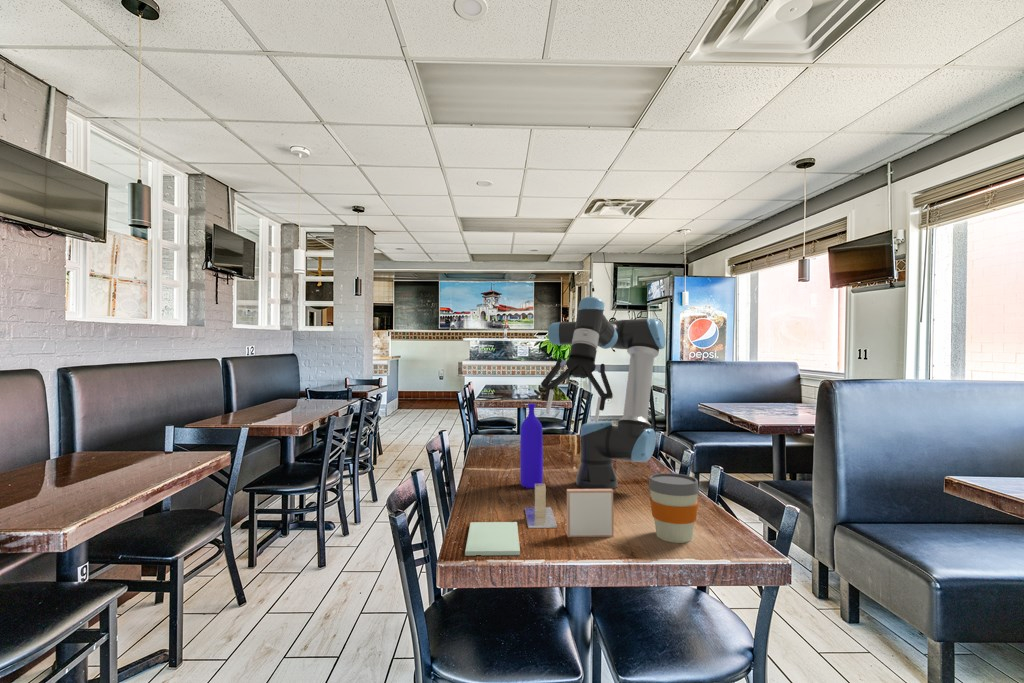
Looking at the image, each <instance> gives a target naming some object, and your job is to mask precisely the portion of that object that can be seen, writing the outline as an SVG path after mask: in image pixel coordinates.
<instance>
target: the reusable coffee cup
mask: <svg viewBox="0 0 1024 683" xmlns="http://www.w3.org/2000/svg"><path fill="white" fill-rule="evenodd" d="M648 489H649V490H650V498H649V503H650V508H651V509H650V510H651V516H652V518H653V519H654V520H653V521H654V527H655V535H656V537H657V538H658V539H661V540H662V541H665V542H667V543H668V542H669V543H676V544H677V543H678V544H683V543H684V544H685V543H689V542H692V540H693V536H694V527H695V522H696V521H697V517H698V508H699V502H698V494H699V492H700V487H699V480H698V479H697V478H696V477H694V476H690V475H688V474H687V475H686V474H681V473H671V472H662V473H655V474H652V475H650V476H649V483H648Z"/></svg>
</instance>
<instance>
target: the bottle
mask: <svg viewBox="0 0 1024 683" xmlns="http://www.w3.org/2000/svg"><path fill="white" fill-rule="evenodd" d="M527 406H528V415H527V417H525V418H524V420H523V421H522V422H521V425H520V439H519V440H520V449H519V450H520V451H519V452H520V455H519V457H520V458H519V459H520V460H519V461H520V462H519V463H520V465H519V466H520V467H519V468H520V486H521V487H522V486H523V487H522V488H524V487H526V488H525V489H535V484H541V483H543V479H544V476H543V475H544V472H543V471H544V456H543V455H544V447H543V446H544V444H543V440H544V439H543V435H544V434H543V425H542V422H540V420H539V418H537V416H536V415H535V406H536V403H527Z"/></svg>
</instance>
